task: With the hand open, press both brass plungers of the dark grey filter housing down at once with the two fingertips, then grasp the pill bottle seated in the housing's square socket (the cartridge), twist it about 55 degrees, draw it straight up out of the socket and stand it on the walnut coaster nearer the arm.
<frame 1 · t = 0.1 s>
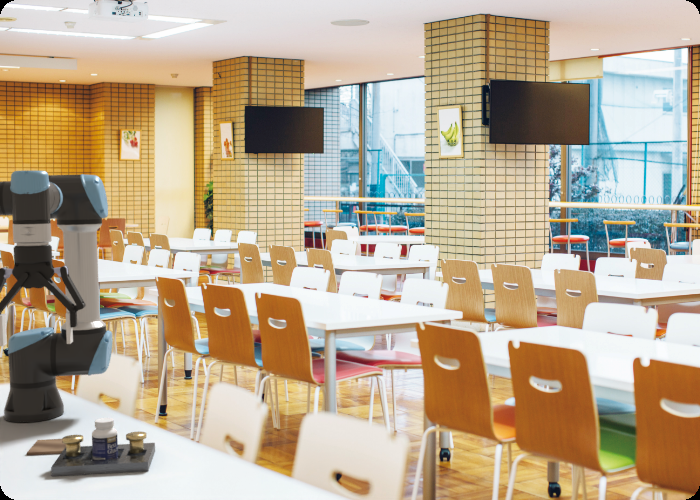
hand: (36, 344, 177), 28 cm above the table, fingers open, 13 cm apart
housing: (105, 463, 185), on the table
plunger b: (136, 442, 186), point 4 cm above the table, slide at 0.2 cm
plunger a: (73, 446, 184), point 4 cm above the table, slide at 0.2 cm
pill bottle: (105, 464, 185), resting in housing
coaster: (54, 447, 197), on the table
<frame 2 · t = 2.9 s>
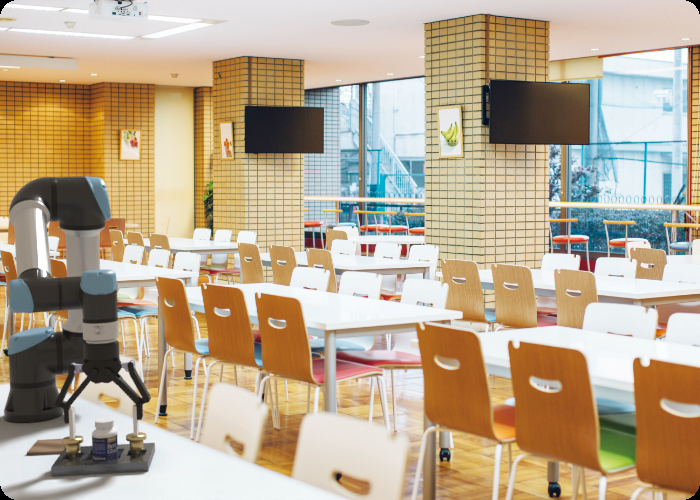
hand: (104, 436, 184), 6 cm above the table, fingers open, 13 cm apart
plunger b: (136, 443, 186), point 4 cm above the table, slide at 0.3 cm, touching gripper
plunger a: (73, 446, 184), point 4 cm above the table, slide at 0.4 cm, touching gripper
everything else where it was.
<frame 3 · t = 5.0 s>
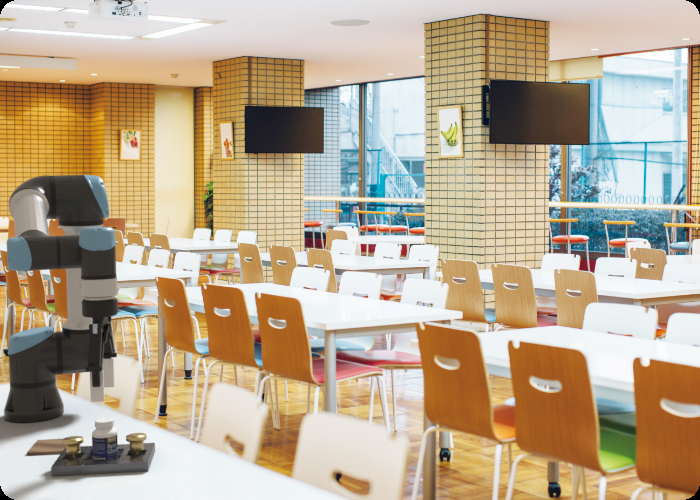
hand: (103, 394, 184), 16 cm above the table, fingers open, 13 cm apart
plunger b: (136, 444, 186), point 4 cm above the table, slide at 0.5 cm
plunger a: (73, 447, 184), point 4 cm above the table, slide at 0.5 cm
everything else where it was.
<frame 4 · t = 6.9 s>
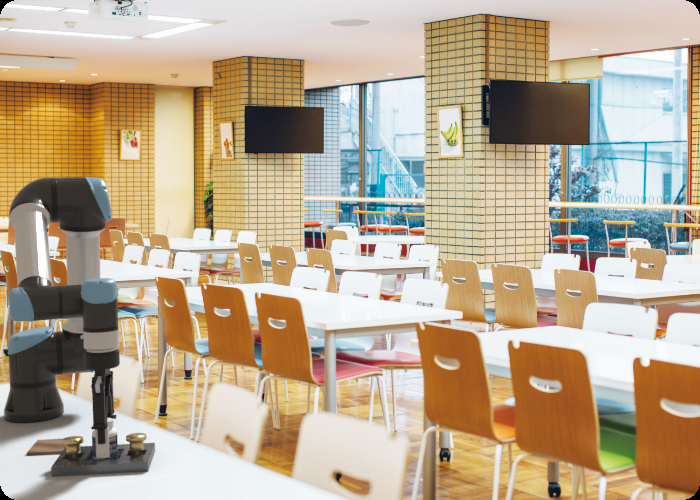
hand: (105, 452, 185), 2 cm above the table, fingers closed on pill bottle, 5 cm apart
pill bottle: (105, 464, 185), resting in housing, touching gripper
everything else where it was.
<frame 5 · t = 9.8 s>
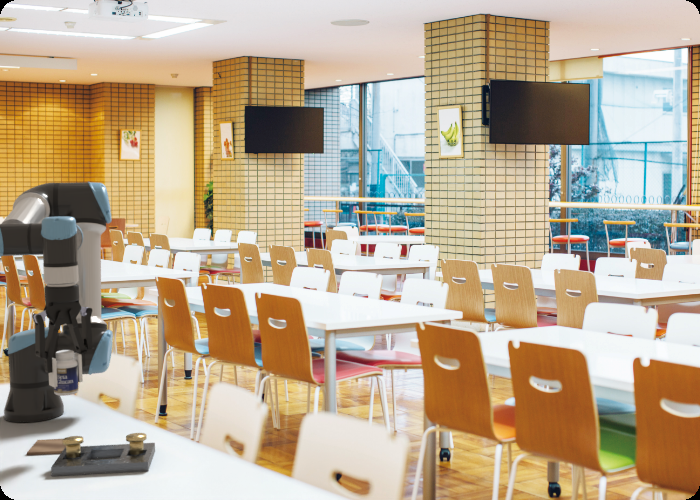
hand: (66, 383, 194), 16 cm above the table, fingers closed on pill bottle, 5 cm apart
pill bottle: (66, 393, 194), point 13 cm above the table, touching gripper
everything else where it was.
when the fingers open (4 cm above the table, at t = 12.9 s): pill bottle stays where it is, resting on coaster.
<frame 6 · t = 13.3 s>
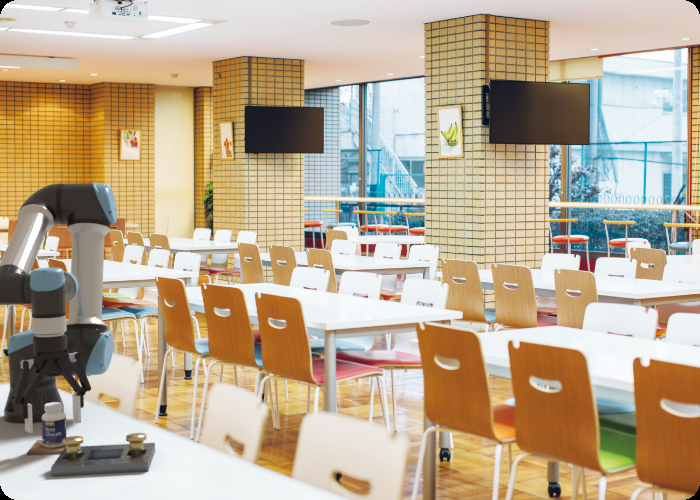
hand: (53, 426, 197), 5 cm above the table, fingers open, 11 cm apart
pill bottle: (54, 445, 197), resting on coaster
everything else where it was.
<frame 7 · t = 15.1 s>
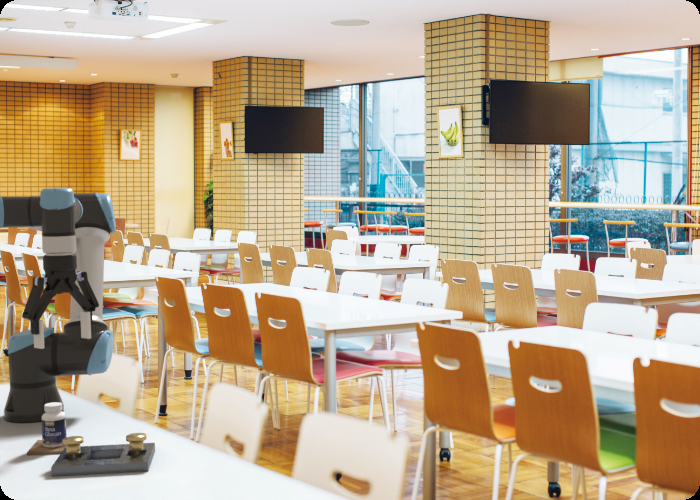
hand: (63, 343, 198), 24 cm above the table, fingers open, 13 cm apart
nothing on the table moved.
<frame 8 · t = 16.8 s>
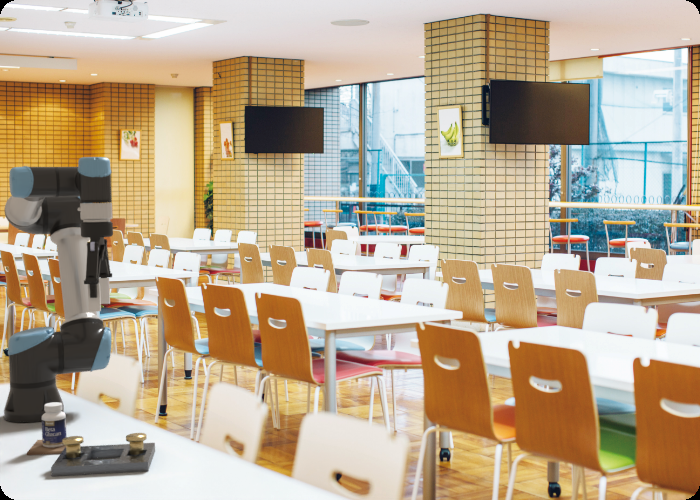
hand: (99, 307, 205), 32 cm above the table, fingers open, 13 cm apart
nothing on the table moved.
at the end: pill bottle inside the target area on the coaster (0.1 cm from its centre), point 0.4 cm above the coaster's base; pill bottle tilted 0°; the gripper is holding nothing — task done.
